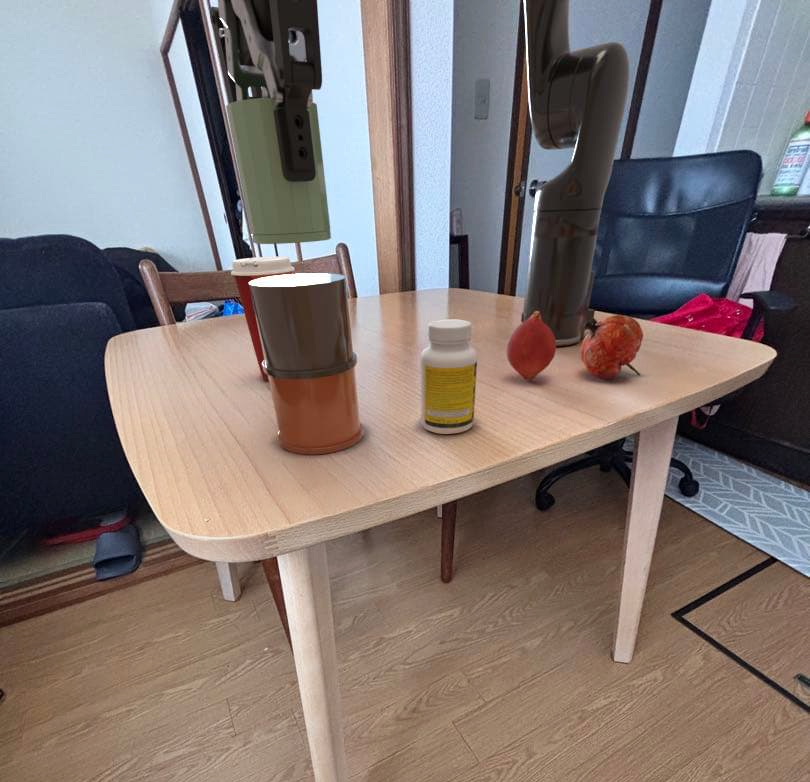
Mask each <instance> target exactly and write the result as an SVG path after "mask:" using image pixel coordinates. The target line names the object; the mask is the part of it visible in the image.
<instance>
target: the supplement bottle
mask: <svg viewBox="0 0 810 782" xmlns="http://www.w3.org/2000/svg"><path fill="white" fill-rule="evenodd" d="M471 337H472V322H471V321H468V320H465V319H457V318H456V319H455V318H454V319H453V318H451V319H450V318H449V319H438V320H432V321H430V322H429V323H428V324H427V340H428V341H429V342H430V343H429V344H430V345H429V346H426V347H425V348H424V349H423V350H422V352H421V354H420V402H421V403H420V414H421V418H420V420H421V425H422V427H423V428H424V429H425V430H427V431H429V432H432V433H434V434H440V435H451V434H452V435H453V434H460V433H463V432H467V431H468V430H470V429H471V428H472V427H473V424H474V422H475V421H474V419H475V405H476V387H477V370H478V369H477V368H478V354H477V351H476V349H475V348H474V347H473V346H471V345H469V342H470V341H471Z"/></svg>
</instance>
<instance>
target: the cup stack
mask: <svg viewBox="0 0 810 782" xmlns="http://www.w3.org/2000/svg"><path fill="white" fill-rule="evenodd" d="M249 286H250V291H251V296H252V300H253V305H254V310H255V315H256V320H257V325H258V330H259V335H260V340H261V344H262V349H263V354H264V359H265V360H264V361H263V362H262V366H263V371H264V372H265V373H266V374H267V375H268V379H269V381H268V382H269V389H270V393H271V397H272V403H273V407H274V412H275V417H276V418H275V419H276V423H277V427H278V432H277V436H276V437H277V443H278V444H279V446H280V448H282V449H283V450H285V451H286V452H287V451H288V452H290V453H294V454H297V455H298V454H299V455H324V454H331V453H336V452H339V451H343V450H346V449H348V448H351V447H353V446H355V445H357V443H359V442H360V441H361V440H362V439H363V437H364V434H365V433H364V432H365V431H364V425H363V424H362V423H361V419H360V411H359V401H358V391H357V378H356V370H355V367H356V366H357V364H358V358H357V354H356V353H355V352H354V349H353V347H354V346H353V339H352V338H353V337H352V328H351V316H350V308H349V295H348V287H347V277H346V276H345V275H343V274H339V273H324V272H323V273H320V272H319V273H318V272H317V273H295V274H294V273H293V275H282V276H273V277H267V278H261V279H257V280H253V281H251V282H250V283H249Z"/></svg>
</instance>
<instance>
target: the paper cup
mask: <svg viewBox="0 0 810 782" xmlns="http://www.w3.org/2000/svg"><path fill="white" fill-rule="evenodd" d="M231 264H232V270H231V271H230V275H232V276H233V277H234V280H235V285H236V287H237V291H238V295H239V298H240V302H241V306H242V309H243V313H244V317H245V320H246V324H247V329H248V331H249V335H250V338H251V343H252V347H253V349H254V350H253V351H254V355H255V357H256V361H257V364H258V368H259V371H260V374H261V377H262V379H263V381H266V382H269V379H268V375H267V374H266V373H265V372H264V371H263V366H262V362H263V361H264V360H265V359H264V354H263V349H262V344H261V340H260V335H259V330H258V325H257V320H256V315H255V310H254V305H253V300H252V296H251V291H250V286H249V283H250V282H251V281H253V280H257V279H261V278H267V277H273V276H282V275H293V274H294V271H295V267H294V266H292V263H291V259H290V258H289V256H258V257H247V258H239V259H233V260H232V263H231Z"/></svg>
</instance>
